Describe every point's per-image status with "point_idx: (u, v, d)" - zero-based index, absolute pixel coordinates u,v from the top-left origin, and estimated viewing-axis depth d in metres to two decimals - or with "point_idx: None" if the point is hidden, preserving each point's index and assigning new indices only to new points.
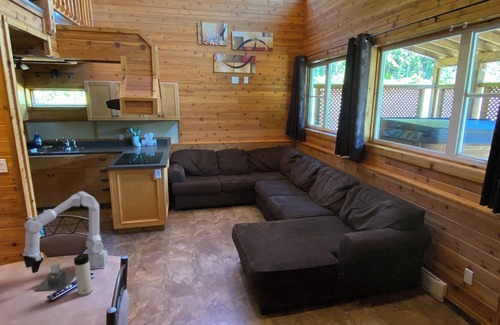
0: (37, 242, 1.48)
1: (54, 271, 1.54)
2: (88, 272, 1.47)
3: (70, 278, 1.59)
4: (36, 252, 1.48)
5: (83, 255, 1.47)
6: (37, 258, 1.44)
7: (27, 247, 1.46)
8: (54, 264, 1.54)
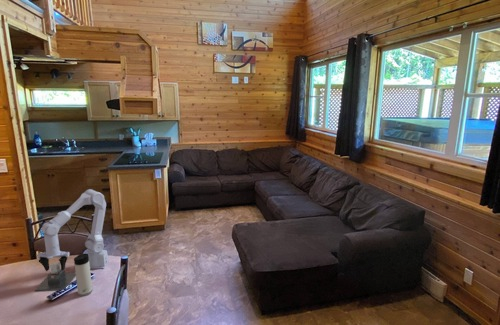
0: (57, 244, 1.53)
1: (54, 271, 1.55)
2: (88, 272, 1.47)
3: (70, 278, 1.59)
4: (59, 251, 1.55)
5: (83, 255, 1.47)
6: (68, 254, 1.54)
7: (52, 249, 1.51)
8: (54, 265, 1.54)
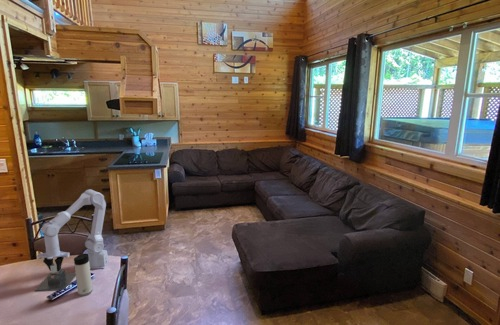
0: (57, 244, 1.53)
1: (54, 271, 1.55)
2: (88, 272, 1.47)
3: (70, 278, 1.59)
4: (59, 252, 1.55)
5: (83, 255, 1.47)
6: (68, 255, 1.54)
7: (52, 250, 1.51)
8: (54, 265, 1.54)
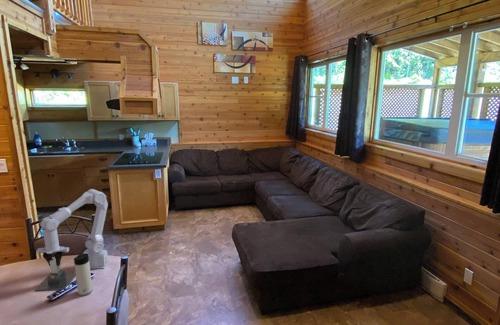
0: (56, 239, 1.52)
1: (54, 266, 1.54)
2: (88, 272, 1.47)
3: (70, 278, 1.59)
4: (59, 246, 1.54)
5: (83, 255, 1.47)
6: (67, 249, 1.54)
7: (51, 244, 1.50)
8: (54, 260, 1.54)
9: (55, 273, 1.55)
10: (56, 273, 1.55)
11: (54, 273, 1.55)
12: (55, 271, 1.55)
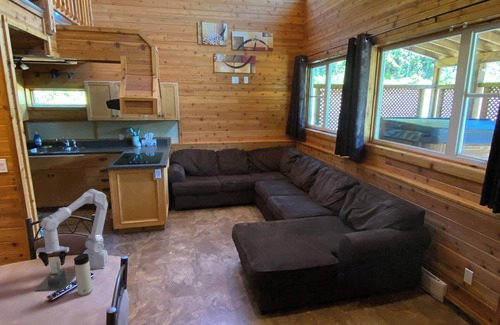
0: (56, 239, 1.52)
1: (54, 266, 1.54)
2: (88, 272, 1.47)
3: (70, 278, 1.59)
4: (59, 246, 1.54)
5: (83, 255, 1.47)
6: (67, 249, 1.54)
7: (51, 244, 1.50)
8: (54, 260, 1.54)
9: (55, 273, 1.55)
10: (56, 273, 1.55)
11: (54, 273, 1.55)
12: (55, 271, 1.55)
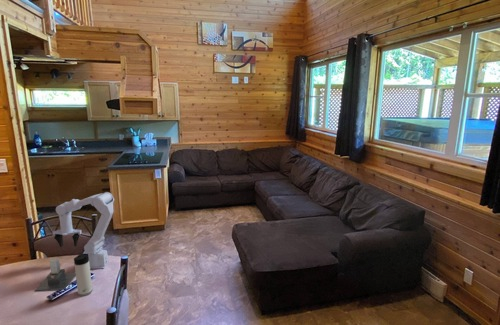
0: (65, 224, 1.68)
1: (54, 266, 1.54)
2: (88, 272, 1.47)
3: (70, 278, 1.59)
4: (72, 229, 1.73)
5: (83, 255, 1.47)
6: (80, 232, 1.72)
7: (66, 227, 1.69)
8: (54, 260, 1.54)
9: (55, 273, 1.55)
10: (56, 273, 1.55)
11: (54, 273, 1.55)
12: (55, 271, 1.55)
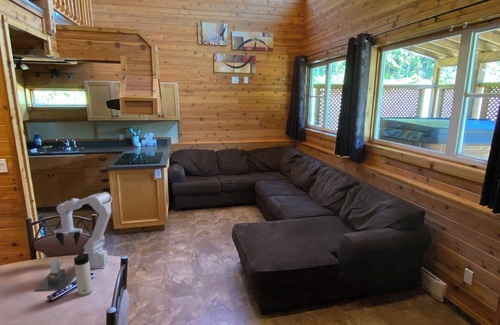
0: (65, 223, 1.70)
1: (54, 266, 1.54)
2: (88, 272, 1.47)
3: (70, 278, 1.59)
4: (73, 228, 1.74)
5: (83, 255, 1.47)
6: (81, 230, 1.74)
7: (67, 226, 1.70)
8: (54, 260, 1.54)
9: (55, 273, 1.55)
10: (56, 273, 1.55)
11: (54, 273, 1.55)
12: (55, 271, 1.55)
